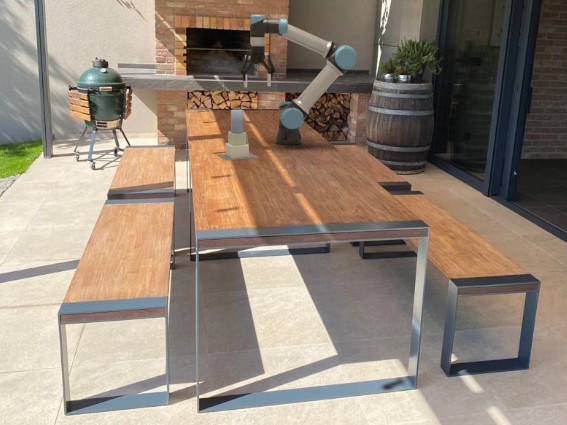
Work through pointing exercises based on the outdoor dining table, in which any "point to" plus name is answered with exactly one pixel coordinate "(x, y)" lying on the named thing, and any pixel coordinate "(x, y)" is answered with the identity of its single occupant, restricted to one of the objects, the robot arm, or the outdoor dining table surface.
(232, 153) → the tower base
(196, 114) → the outdoor dining table surface
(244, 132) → the beige rounded lump
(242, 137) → the tower top
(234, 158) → the mat
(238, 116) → the grey rounded cylinder
